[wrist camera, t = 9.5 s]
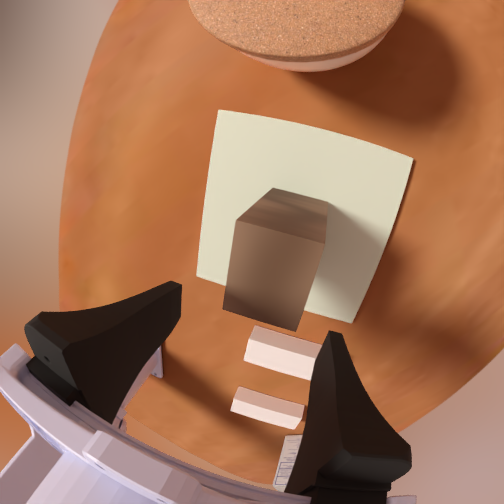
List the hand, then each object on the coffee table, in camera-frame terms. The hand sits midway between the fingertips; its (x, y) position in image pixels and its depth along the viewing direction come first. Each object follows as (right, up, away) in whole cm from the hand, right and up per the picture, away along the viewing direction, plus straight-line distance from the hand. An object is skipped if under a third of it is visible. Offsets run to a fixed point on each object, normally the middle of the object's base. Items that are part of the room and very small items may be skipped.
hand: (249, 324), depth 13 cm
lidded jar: (+4, +19, +1) cm, 20 cm away
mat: (+3, +6, +8) cm, 10 cm away
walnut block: (+3, +5, +7) cm, 10 cm away
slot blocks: (+3, -10, +15) cm, 18 cm away
